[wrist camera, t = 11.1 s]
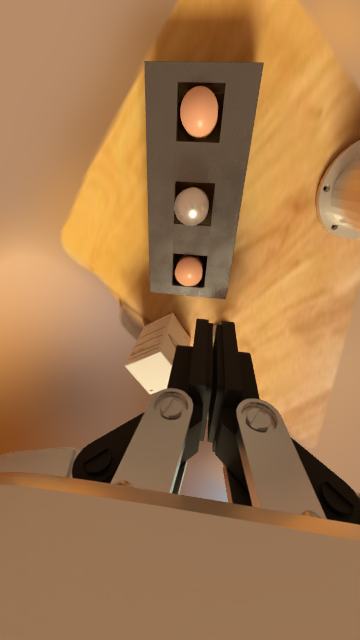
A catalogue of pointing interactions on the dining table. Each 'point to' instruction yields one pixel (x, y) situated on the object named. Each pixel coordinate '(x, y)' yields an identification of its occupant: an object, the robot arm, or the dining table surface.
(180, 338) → the supplement box
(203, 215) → the middle knob
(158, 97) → the knob housing
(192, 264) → the far knob
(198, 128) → the near knob
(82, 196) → the dining table surface
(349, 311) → the dining table surface
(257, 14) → the dining table surface
